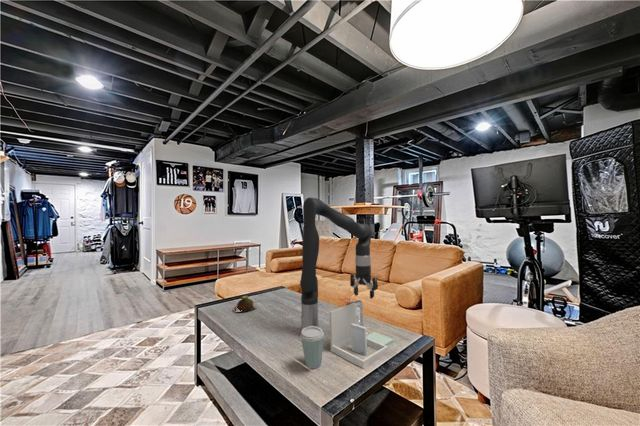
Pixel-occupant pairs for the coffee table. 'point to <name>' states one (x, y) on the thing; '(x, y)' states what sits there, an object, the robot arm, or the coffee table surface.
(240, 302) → the cactus
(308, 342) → the disposable coffee cup
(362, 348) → the hard drive
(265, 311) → the coffee table surface
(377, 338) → the mat
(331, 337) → the case
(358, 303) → the disk drive
